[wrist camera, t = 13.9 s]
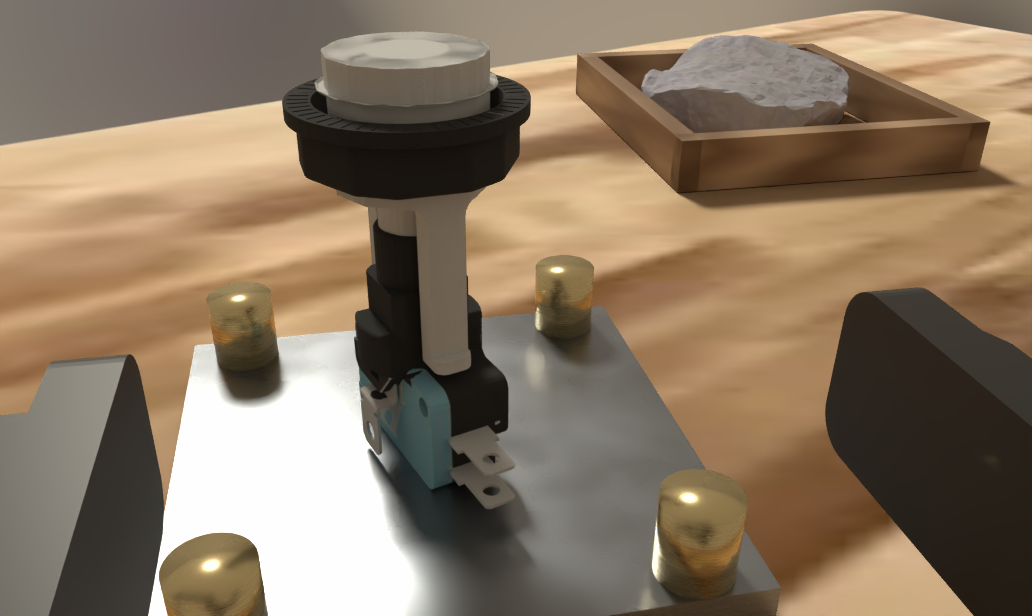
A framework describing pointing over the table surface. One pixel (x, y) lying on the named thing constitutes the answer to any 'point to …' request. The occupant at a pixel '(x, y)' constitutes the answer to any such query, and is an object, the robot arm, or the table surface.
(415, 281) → the push button
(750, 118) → the stone block
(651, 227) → the table surface
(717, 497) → the plate
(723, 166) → the block coaster frame
